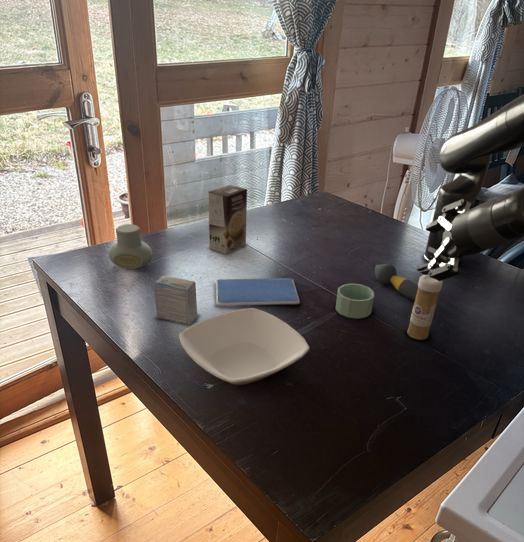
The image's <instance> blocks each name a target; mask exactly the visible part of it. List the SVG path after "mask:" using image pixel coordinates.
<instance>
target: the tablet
mask: <svg viewBox="0 0 524 542" xmlns="http://www.w3.org/2000/svg"><path fill="white" fill-rule="evenodd" d="M215 303H216V306H217V307H231V306H232V307H235V306H271V305H272V306H273V305H299V304H300V303H301V299H300V298H299V294H298V291H297V288H296V285H295V282H294V279H293V278H291V277H282V278H281V277H277V278H275V277H274V278H226V279H225V278H224V279H223V278H220V279H215Z"/></svg>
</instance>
